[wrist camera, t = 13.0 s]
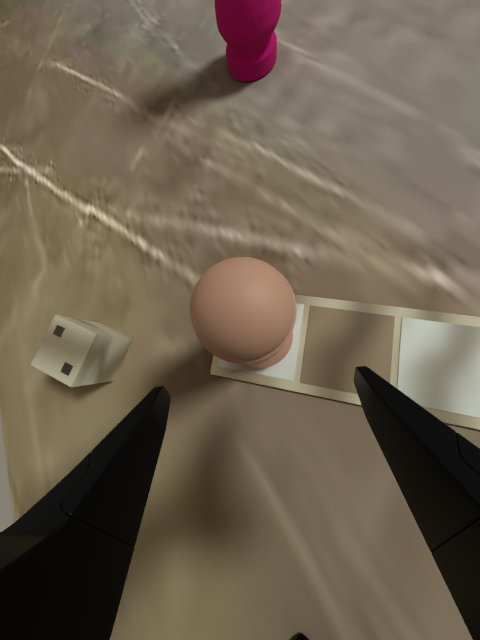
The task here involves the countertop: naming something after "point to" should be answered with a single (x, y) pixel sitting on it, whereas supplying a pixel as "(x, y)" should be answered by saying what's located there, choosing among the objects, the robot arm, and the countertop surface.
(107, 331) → the die
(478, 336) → the board
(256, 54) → the pepper mill
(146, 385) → the countertop surface
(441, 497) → the robot arm
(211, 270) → the tan knob handle
